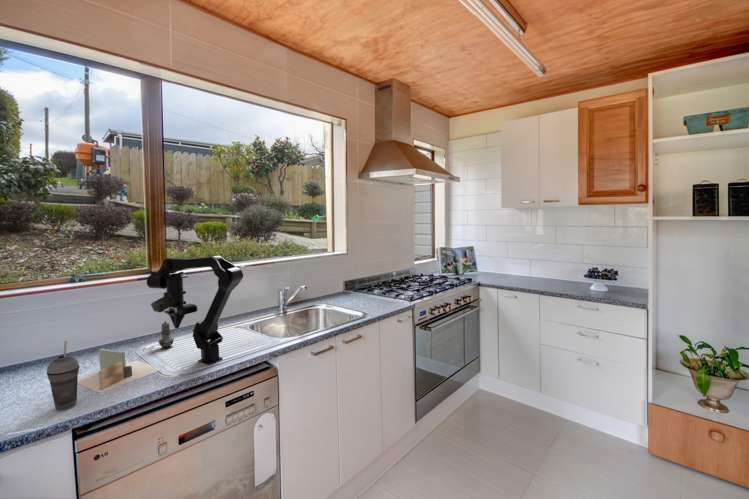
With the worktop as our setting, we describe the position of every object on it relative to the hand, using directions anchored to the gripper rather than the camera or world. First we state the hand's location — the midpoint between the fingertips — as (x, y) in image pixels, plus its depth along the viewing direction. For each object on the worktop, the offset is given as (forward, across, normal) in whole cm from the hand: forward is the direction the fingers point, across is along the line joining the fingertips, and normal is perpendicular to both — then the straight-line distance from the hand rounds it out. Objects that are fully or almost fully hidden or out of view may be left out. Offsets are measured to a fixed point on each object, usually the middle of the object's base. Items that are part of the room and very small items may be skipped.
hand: (176, 328), depth 141 cm
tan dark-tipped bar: (+12, +2, -23) cm, 26 cm away
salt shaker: (+12, -14, +4) cm, 19 cm away
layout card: (+12, -2, -20) cm, 23 cm away
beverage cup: (+12, +7, -39) cm, 41 cm away
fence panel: (+11, -6, -20) cm, 24 cm away
